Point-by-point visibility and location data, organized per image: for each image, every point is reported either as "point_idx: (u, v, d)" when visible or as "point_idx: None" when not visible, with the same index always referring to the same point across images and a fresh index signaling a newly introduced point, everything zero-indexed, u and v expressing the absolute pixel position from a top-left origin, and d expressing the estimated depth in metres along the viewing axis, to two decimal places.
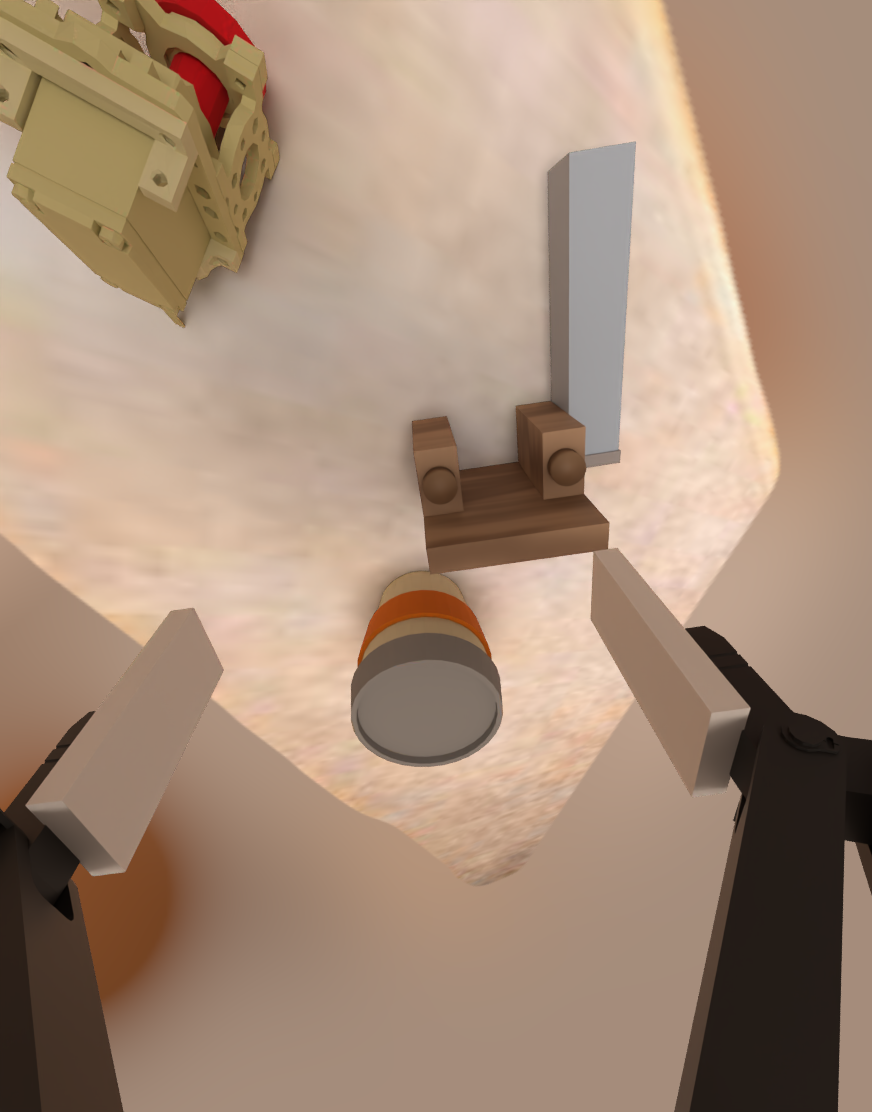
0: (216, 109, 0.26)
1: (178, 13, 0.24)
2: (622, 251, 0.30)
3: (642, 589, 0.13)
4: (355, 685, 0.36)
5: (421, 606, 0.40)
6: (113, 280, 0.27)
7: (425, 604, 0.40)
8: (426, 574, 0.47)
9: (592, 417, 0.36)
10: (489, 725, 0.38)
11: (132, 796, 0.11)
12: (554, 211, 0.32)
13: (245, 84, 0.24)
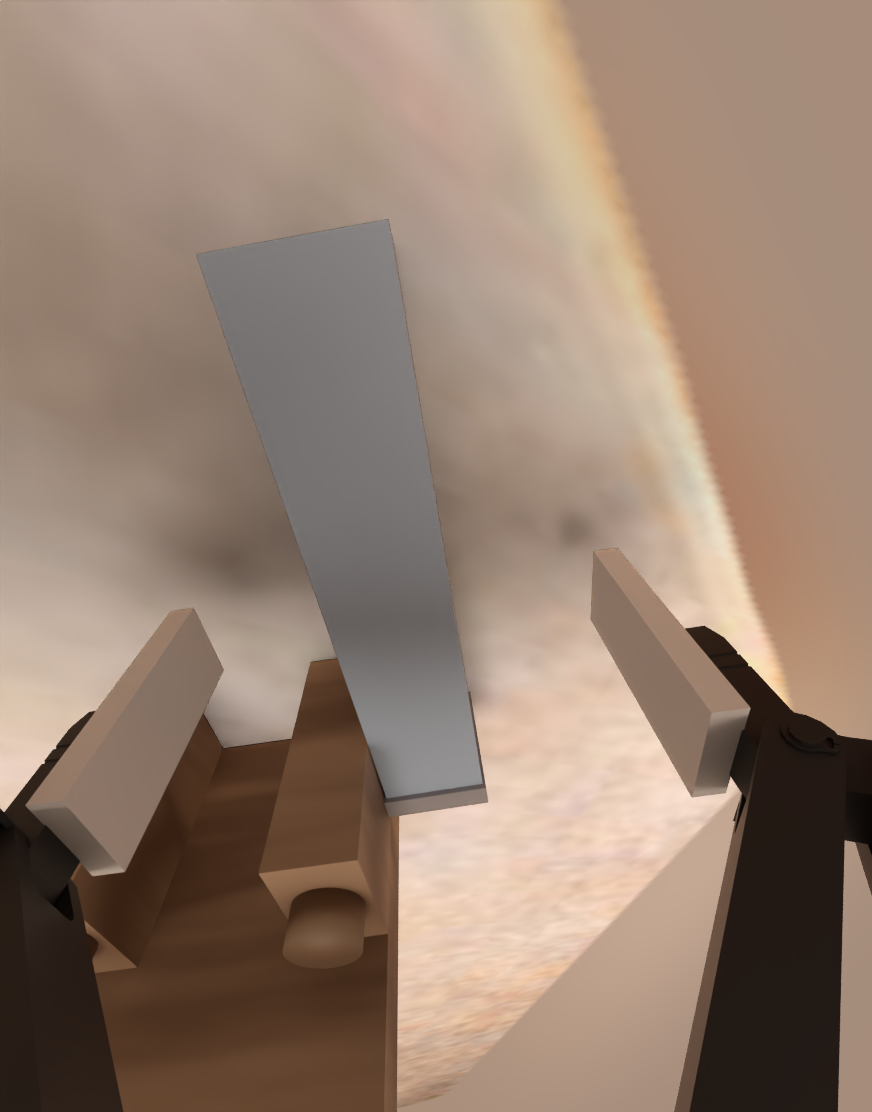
0: None
1: None
2: (413, 477, 0.12)
3: (642, 589, 0.13)
4: None
5: None
6: None
7: None
8: None
9: (418, 746, 0.18)
10: None
11: (132, 796, 0.11)
12: None
13: None
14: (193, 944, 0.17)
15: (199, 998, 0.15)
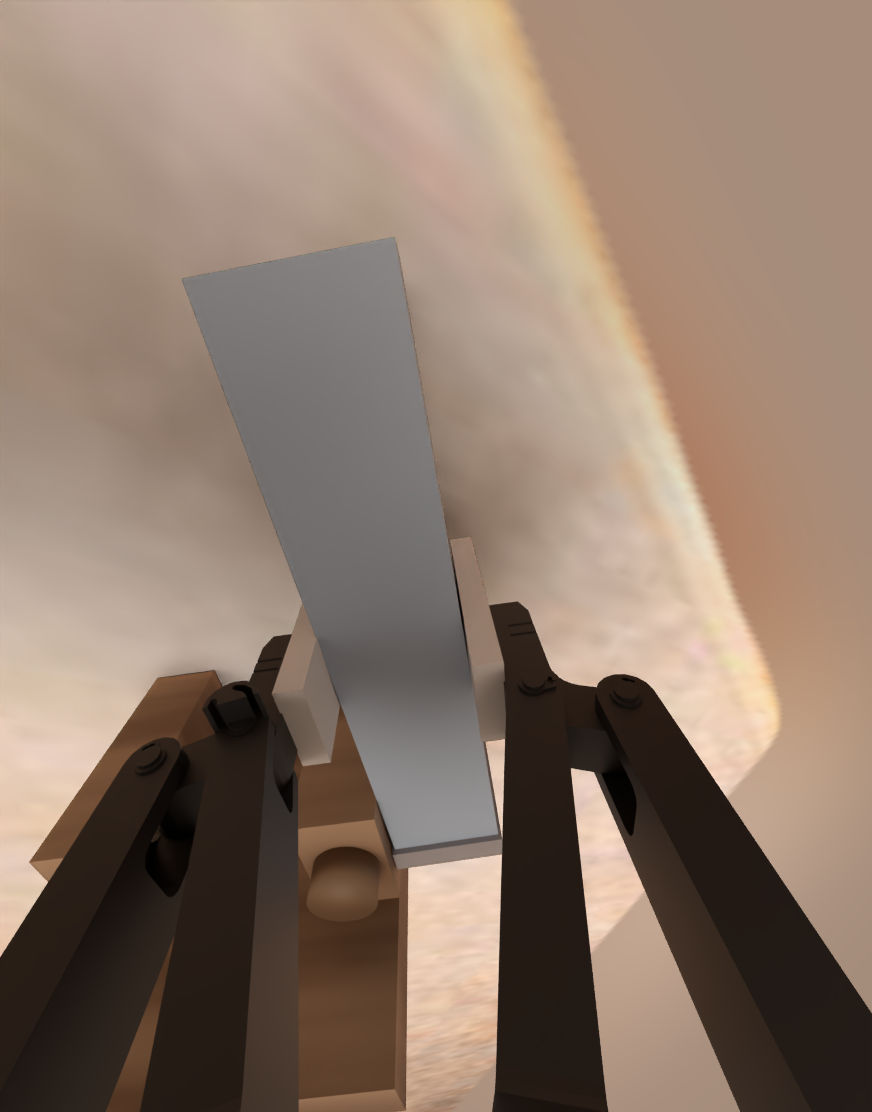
0: None
1: None
2: (422, 515, 0.11)
3: (472, 571, 0.15)
4: None
5: None
6: None
7: None
8: None
9: (428, 795, 0.16)
10: None
11: (328, 702, 0.13)
12: None
13: None
14: None
15: None
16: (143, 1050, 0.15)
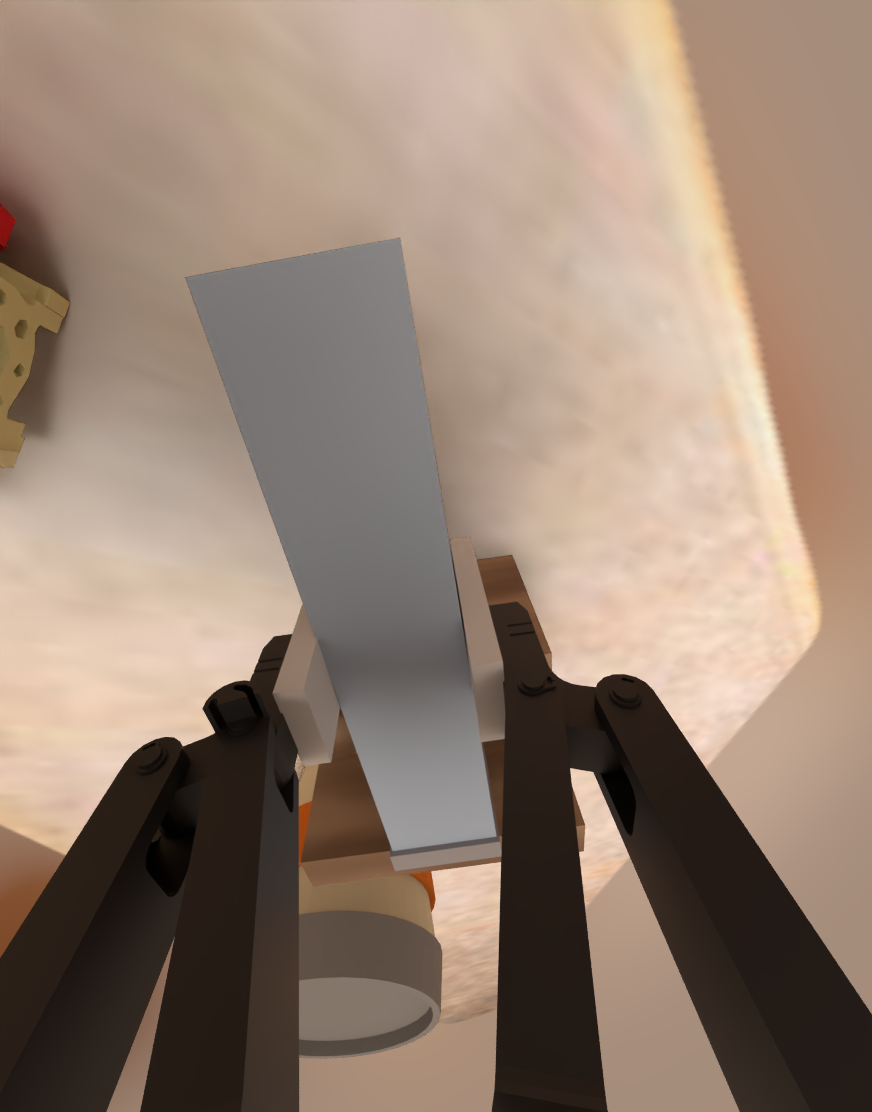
0: None
1: None
2: (424, 517, 0.11)
3: (471, 571, 0.15)
4: None
5: None
6: None
7: None
8: None
9: (427, 797, 0.16)
10: (425, 1012, 0.28)
11: (328, 702, 0.13)
12: None
13: None
14: None
15: None
16: None
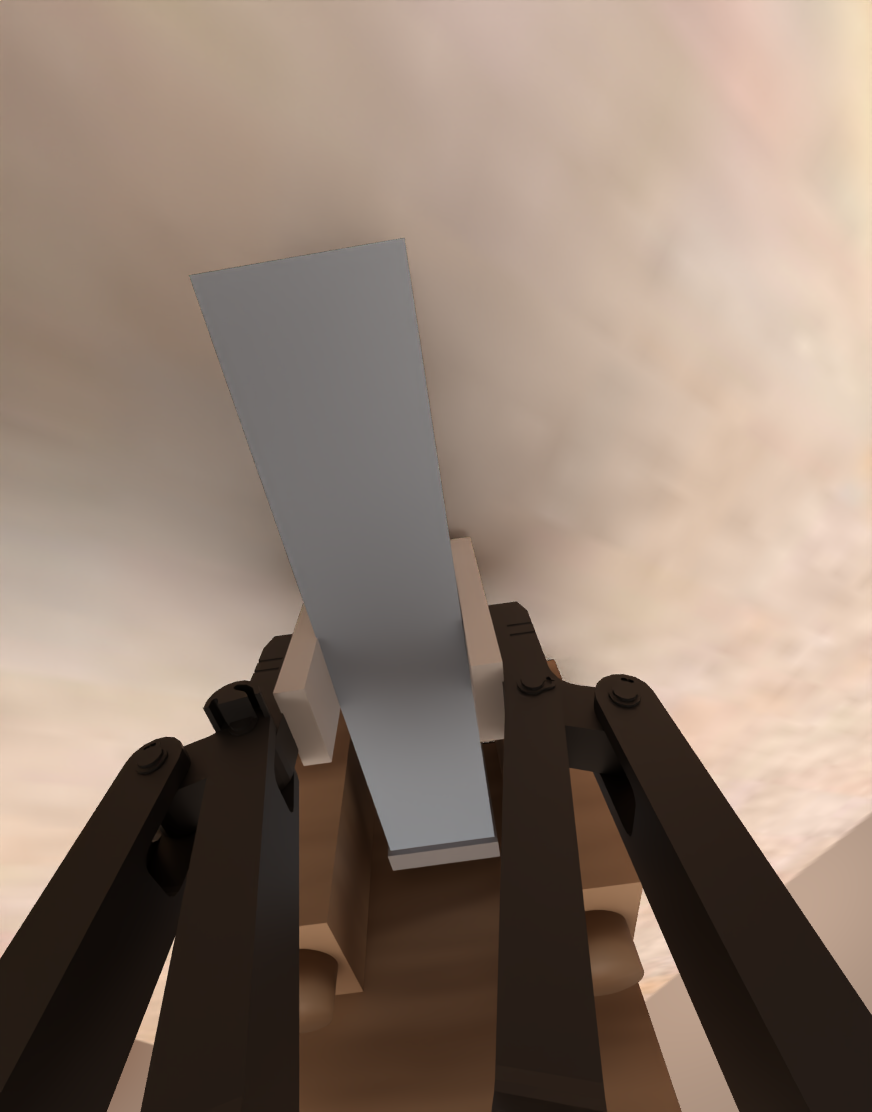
0: None
1: None
2: (426, 517, 0.11)
3: (471, 571, 0.15)
4: None
5: None
6: None
7: None
8: None
9: (425, 797, 0.16)
10: None
11: (329, 702, 0.13)
12: None
13: None
14: (416, 967, 0.16)
15: (443, 1026, 0.15)
16: None
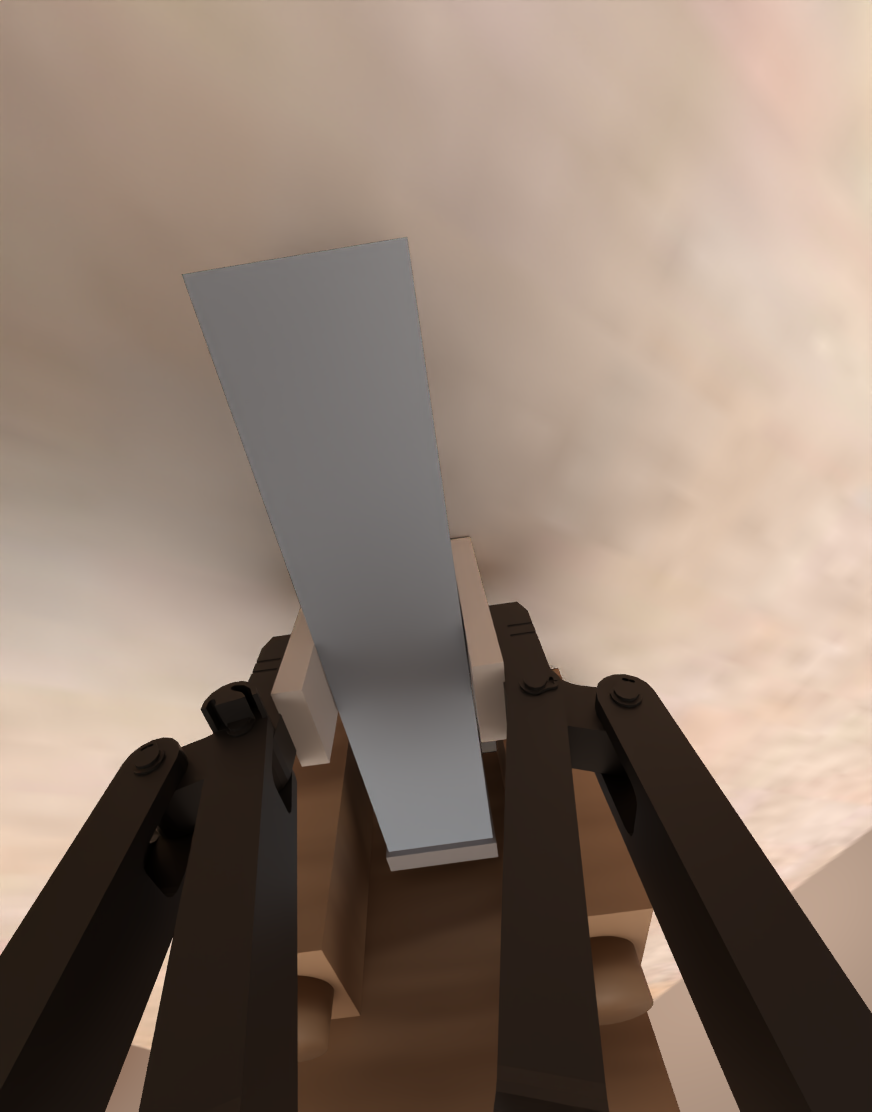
0: None
1: None
2: (427, 523, 0.11)
3: (471, 571, 0.15)
4: None
5: None
6: None
7: None
8: None
9: (424, 799, 0.16)
10: None
11: (327, 702, 0.13)
12: None
13: None
14: (416, 990, 0.15)
15: (443, 1054, 0.14)
16: None
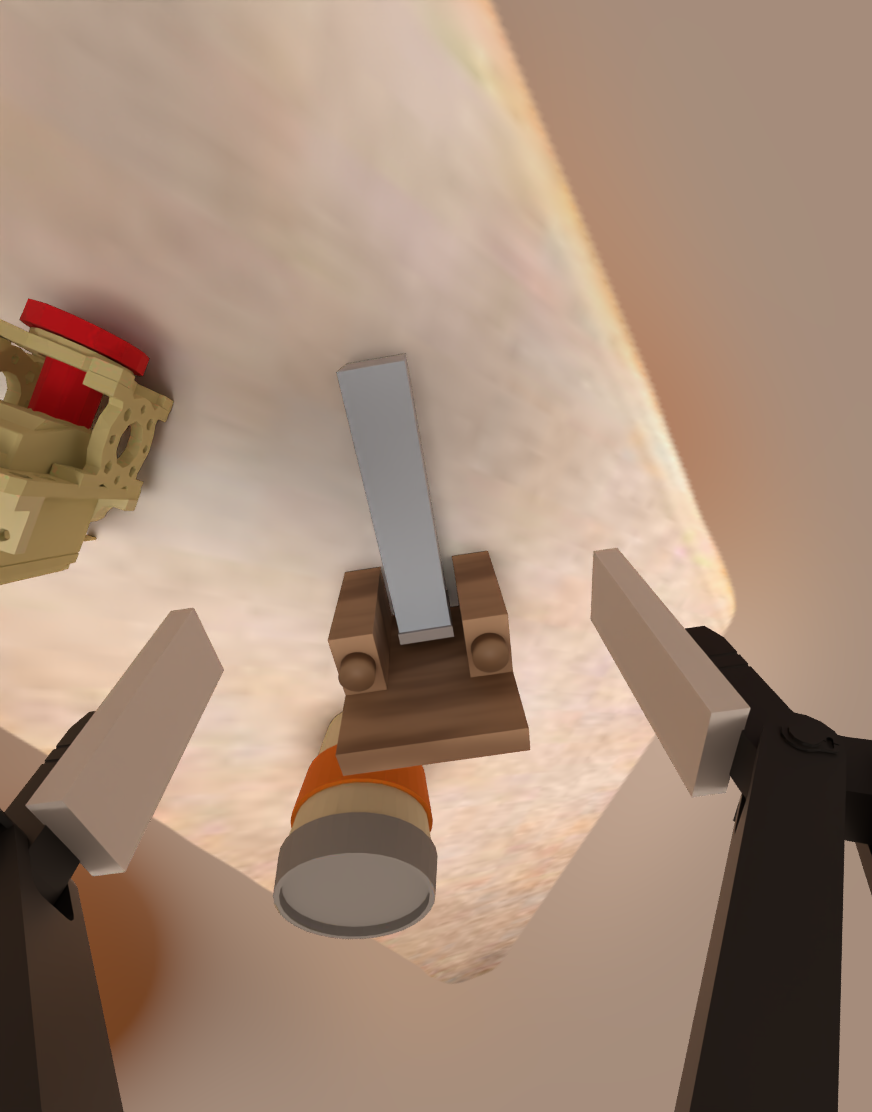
0: (93, 393, 0.27)
1: (43, 329, 0.25)
2: (413, 454, 0.29)
3: (642, 589, 0.13)
4: (278, 867, 0.34)
5: None
6: None
7: None
8: None
9: (416, 597, 0.34)
10: (424, 899, 0.36)
11: (132, 796, 0.11)
12: None
13: None
14: (412, 681, 0.33)
15: (424, 695, 0.32)
16: (395, 727, 0.30)
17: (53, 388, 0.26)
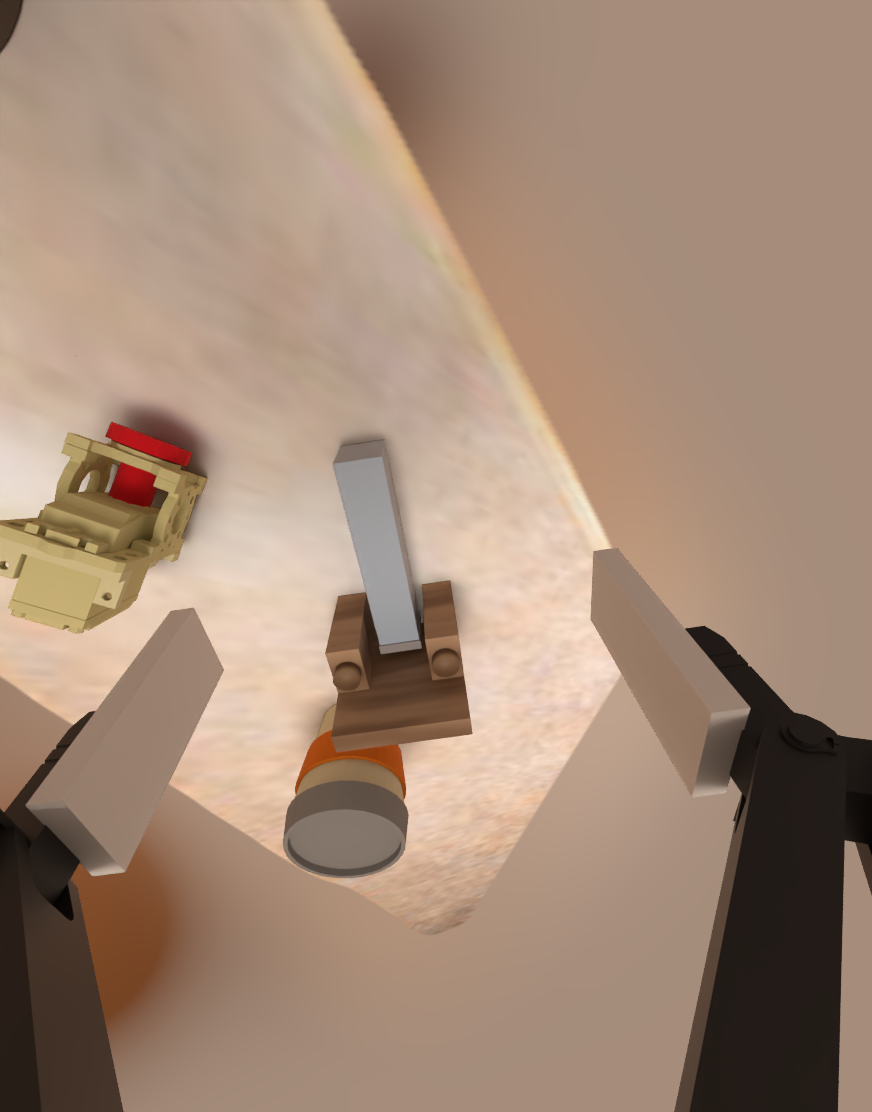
0: (154, 483, 0.38)
1: (123, 445, 0.35)
2: (389, 519, 0.40)
3: (642, 589, 0.13)
4: (287, 821, 0.45)
5: None
6: None
7: None
8: None
9: (392, 619, 0.45)
10: (398, 847, 0.48)
11: (132, 796, 0.11)
12: None
13: None
14: (389, 682, 0.44)
15: (397, 693, 0.43)
16: (374, 717, 0.41)
17: (128, 483, 0.36)
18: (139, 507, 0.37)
